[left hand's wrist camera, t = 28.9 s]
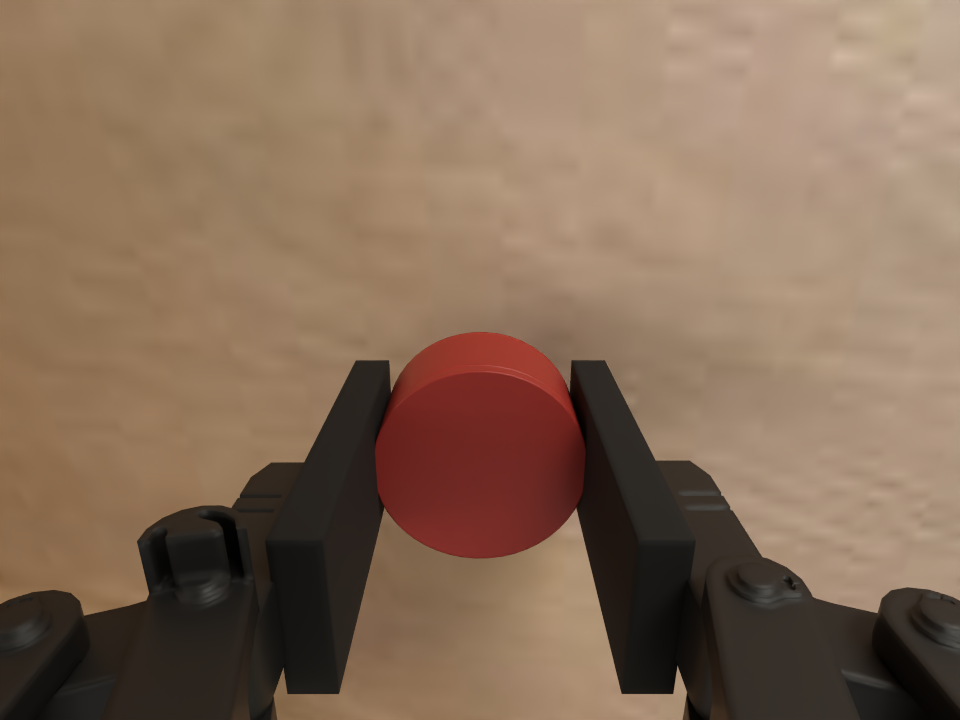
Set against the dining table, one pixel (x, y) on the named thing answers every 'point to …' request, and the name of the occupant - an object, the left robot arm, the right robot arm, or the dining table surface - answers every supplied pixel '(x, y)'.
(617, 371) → the dining table surface
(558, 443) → the cap
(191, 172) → the dining table surface
